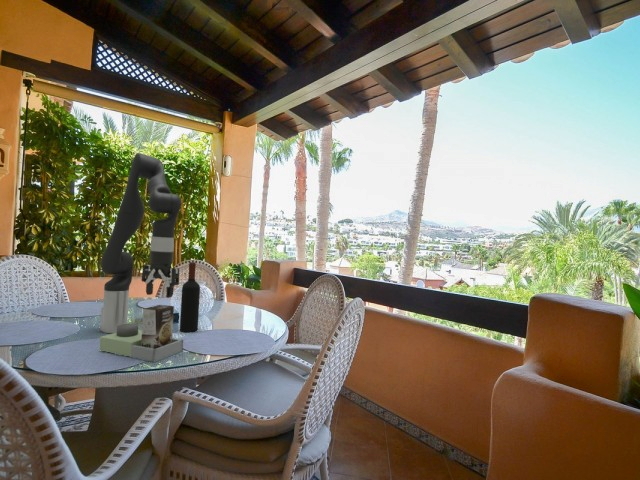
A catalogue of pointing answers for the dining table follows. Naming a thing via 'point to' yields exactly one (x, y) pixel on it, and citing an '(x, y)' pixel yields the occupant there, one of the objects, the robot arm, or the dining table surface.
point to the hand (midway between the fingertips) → (159, 295)
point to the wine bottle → (190, 302)
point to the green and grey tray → (136, 344)
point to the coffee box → (157, 326)
